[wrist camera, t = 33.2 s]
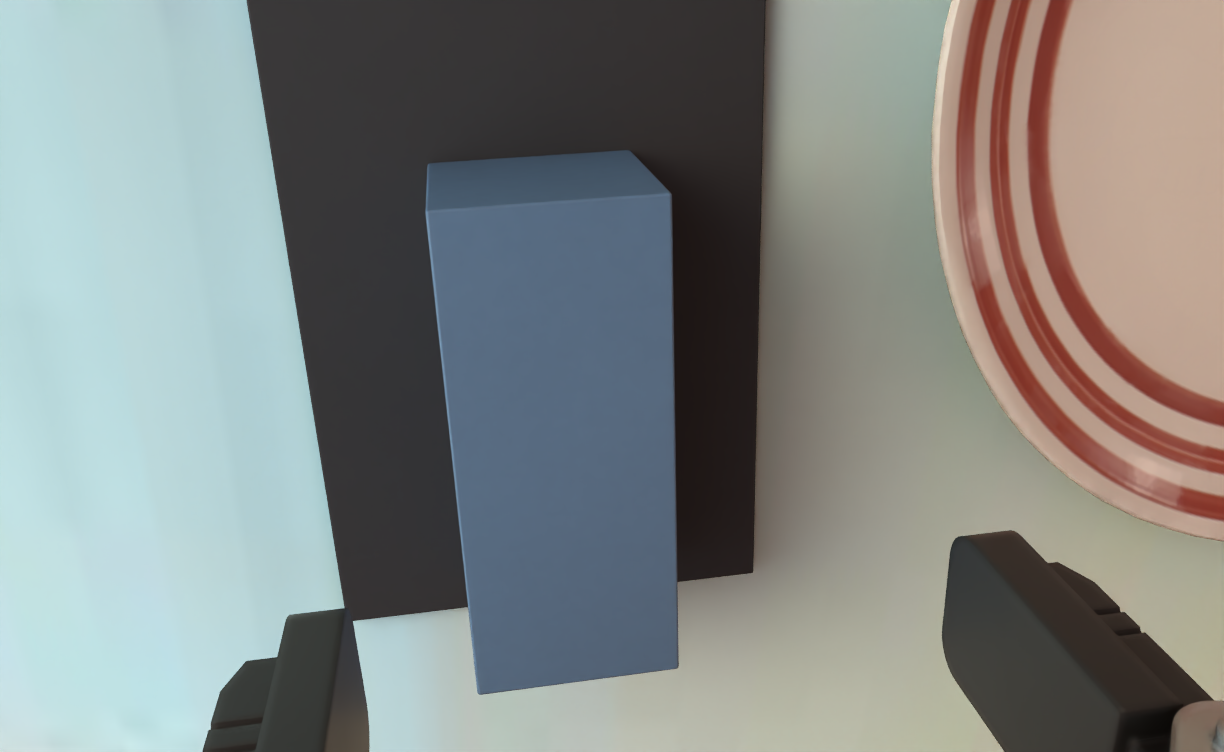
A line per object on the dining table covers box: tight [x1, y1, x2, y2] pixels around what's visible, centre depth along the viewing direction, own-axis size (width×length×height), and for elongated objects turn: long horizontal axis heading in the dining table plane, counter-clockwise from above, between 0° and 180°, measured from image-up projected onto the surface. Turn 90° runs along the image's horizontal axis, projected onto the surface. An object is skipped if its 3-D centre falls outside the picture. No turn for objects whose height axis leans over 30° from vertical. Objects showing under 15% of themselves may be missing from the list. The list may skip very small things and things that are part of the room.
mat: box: [247, 0, 766, 621], centre depth 27 cm, size 12×18×1 cm, turn 2°
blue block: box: [426, 150, 679, 695], centre depth 25 cm, size 5×5×12 cm
